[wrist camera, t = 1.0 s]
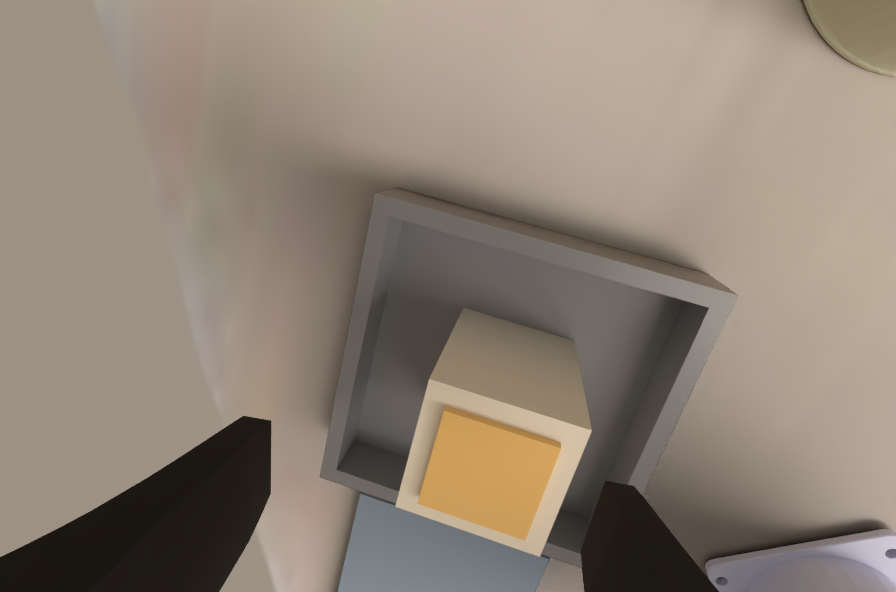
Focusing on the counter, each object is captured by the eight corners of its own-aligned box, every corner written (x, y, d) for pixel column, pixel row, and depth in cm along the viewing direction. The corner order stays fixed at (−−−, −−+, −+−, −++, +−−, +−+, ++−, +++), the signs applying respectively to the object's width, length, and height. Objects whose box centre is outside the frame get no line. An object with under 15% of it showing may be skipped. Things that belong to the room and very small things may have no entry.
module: (574, 340, 20) (593, 436, 13) (539, 435, 22) (539, 564, 15) (463, 307, 21) (426, 383, 14) (437, 403, 22) (392, 513, 16)
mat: (548, 543, 24) (549, 559, 23) (495, 671, 28) (494, 689, 27) (366, 481, 25) (360, 493, 24) (336, 611, 29) (329, 627, 28)
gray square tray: (708, 274, 19) (738, 295, 16) (595, 524, 24) (603, 575, 21) (397, 187, 20) (374, 192, 18) (344, 440, 25) (319, 476, 22)
